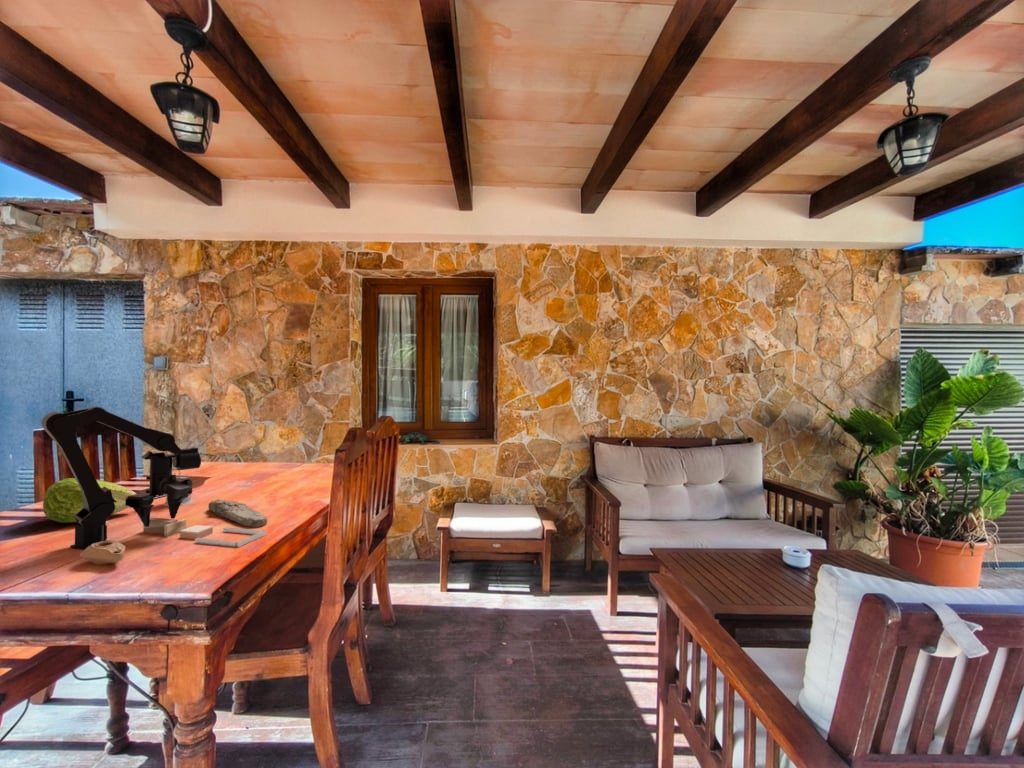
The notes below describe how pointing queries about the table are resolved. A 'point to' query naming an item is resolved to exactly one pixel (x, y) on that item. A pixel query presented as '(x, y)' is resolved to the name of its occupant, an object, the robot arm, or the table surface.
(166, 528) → the pusher
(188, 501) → the french press
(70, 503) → the lettuce
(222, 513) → the elongated rock
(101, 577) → the table surface
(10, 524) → the table surface
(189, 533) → the tile
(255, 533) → the bay
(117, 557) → the pottery oil lamp
